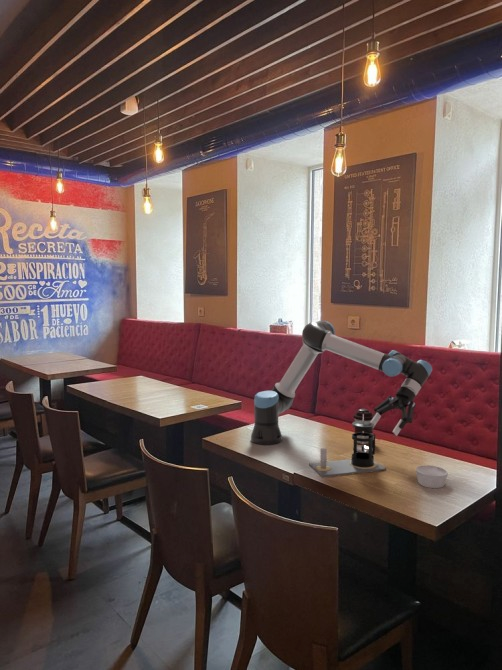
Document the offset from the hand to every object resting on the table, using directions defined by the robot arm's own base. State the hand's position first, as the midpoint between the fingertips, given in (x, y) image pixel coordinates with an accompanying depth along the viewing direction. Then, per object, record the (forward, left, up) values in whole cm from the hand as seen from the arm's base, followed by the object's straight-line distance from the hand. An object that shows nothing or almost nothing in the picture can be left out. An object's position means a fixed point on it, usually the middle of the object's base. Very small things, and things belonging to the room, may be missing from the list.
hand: (382, 429), depth 209 cm
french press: (+2, -10, -13) cm, 17 cm away
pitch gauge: (+3, -18, -14) cm, 22 cm away
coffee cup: (-26, +5, -14) cm, 30 cm away
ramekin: (+27, +5, -14) cm, 31 cm away
